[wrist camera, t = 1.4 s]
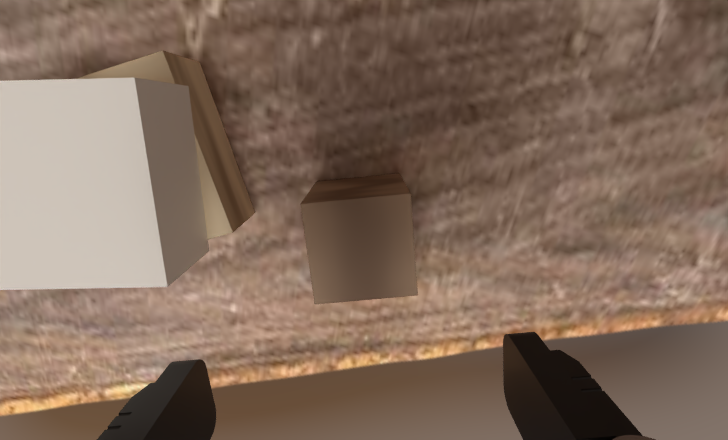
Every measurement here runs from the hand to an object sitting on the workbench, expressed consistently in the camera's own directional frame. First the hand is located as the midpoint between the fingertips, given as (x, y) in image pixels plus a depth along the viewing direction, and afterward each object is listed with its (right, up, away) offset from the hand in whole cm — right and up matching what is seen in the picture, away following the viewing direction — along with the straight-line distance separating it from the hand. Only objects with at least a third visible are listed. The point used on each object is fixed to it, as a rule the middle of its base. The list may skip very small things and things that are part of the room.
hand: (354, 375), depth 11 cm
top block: (-13, +7, +11) cm, 19 cm away
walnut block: (0, +4, +17) cm, 17 cm away
